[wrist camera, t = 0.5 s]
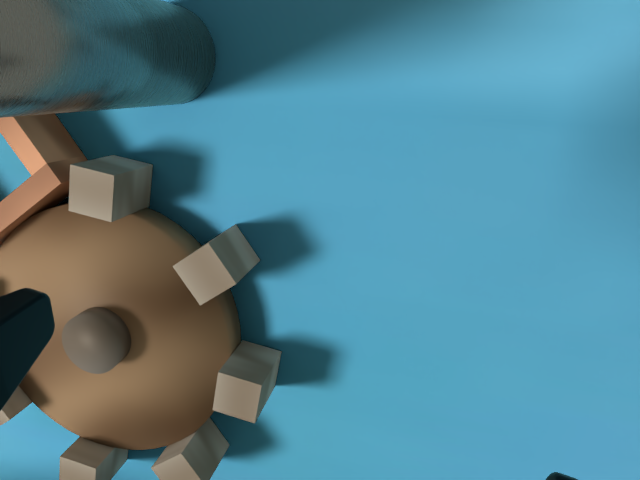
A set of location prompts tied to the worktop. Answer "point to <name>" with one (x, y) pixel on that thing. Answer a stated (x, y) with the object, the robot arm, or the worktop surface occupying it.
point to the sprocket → (126, 312)
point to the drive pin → (100, 55)
